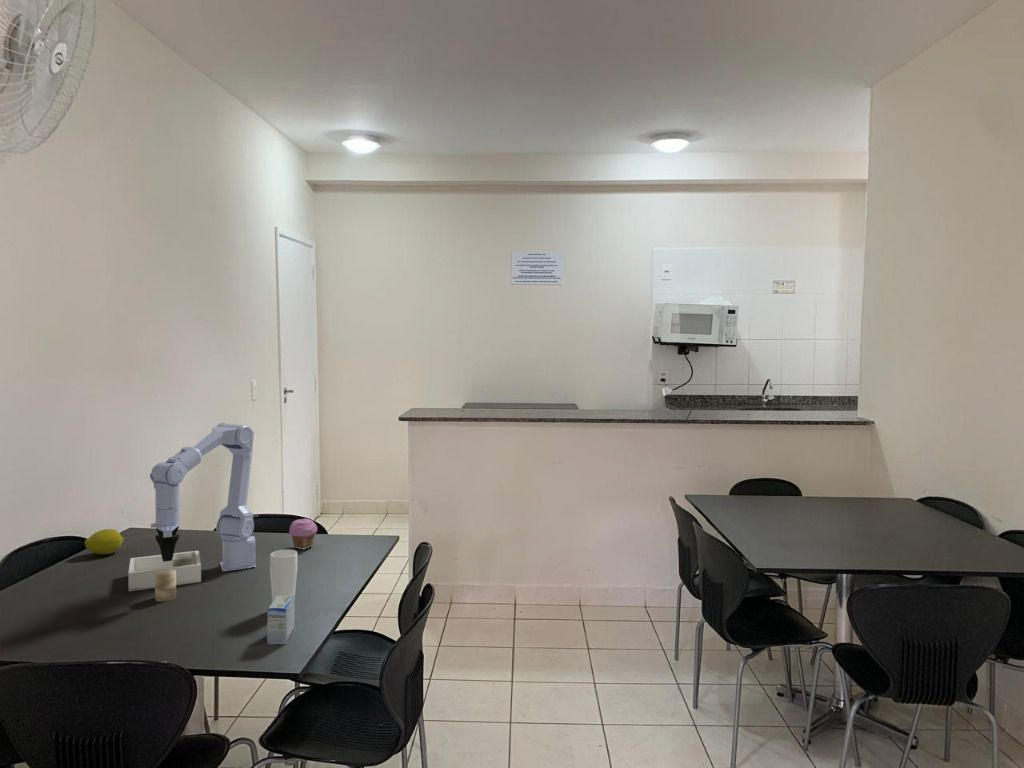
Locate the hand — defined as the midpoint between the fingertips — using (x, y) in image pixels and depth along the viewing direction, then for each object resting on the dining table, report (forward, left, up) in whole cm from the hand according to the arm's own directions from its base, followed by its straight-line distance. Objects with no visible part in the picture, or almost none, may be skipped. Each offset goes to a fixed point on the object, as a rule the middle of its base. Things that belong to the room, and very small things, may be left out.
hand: (167, 556), depth 179 cm
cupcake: (-41, -27, -11) cm, 50 cm away
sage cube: (-4, -14, -10) cm, 17 cm away
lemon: (+17, -45, -11) cm, 49 cm away
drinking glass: (-27, +23, -11) cm, 37 cm away
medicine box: (-24, +39, -11) cm, 47 cm away
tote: (0, -14, -11) cm, 17 cm away
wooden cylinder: (0, +2, -11) cm, 11 cm away
